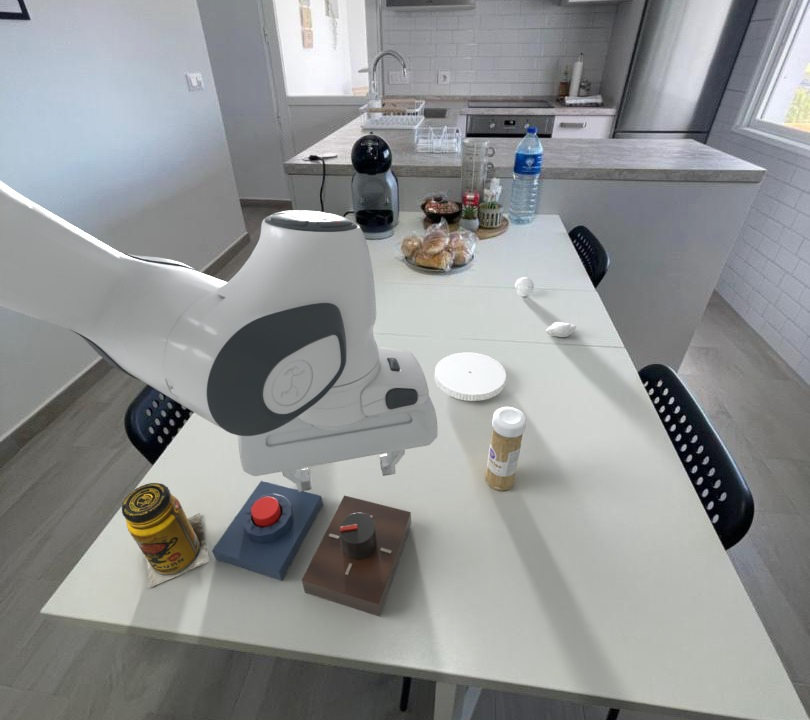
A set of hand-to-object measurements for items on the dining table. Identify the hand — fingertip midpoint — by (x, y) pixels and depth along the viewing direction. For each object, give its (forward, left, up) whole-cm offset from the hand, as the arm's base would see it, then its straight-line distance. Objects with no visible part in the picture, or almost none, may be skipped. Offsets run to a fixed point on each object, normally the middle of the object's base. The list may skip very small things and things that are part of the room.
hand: (347, 478), depth 51 cm
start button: (0, +13, -12) cm, 18 cm away
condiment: (-6, +24, -16) cm, 30 cm away
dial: (0, 0, -13) cm, 13 cm away
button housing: (0, +13, -16) cm, 20 cm away
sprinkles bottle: (+18, -17, -16) cm, 29 cm away
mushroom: (+82, -15, -16) cm, 85 cm away
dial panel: (0, -1, -16) cm, 16 cm away
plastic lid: (+41, -8, -16) cm, 45 cm away
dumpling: (+64, -25, -16) cm, 70 cm away
